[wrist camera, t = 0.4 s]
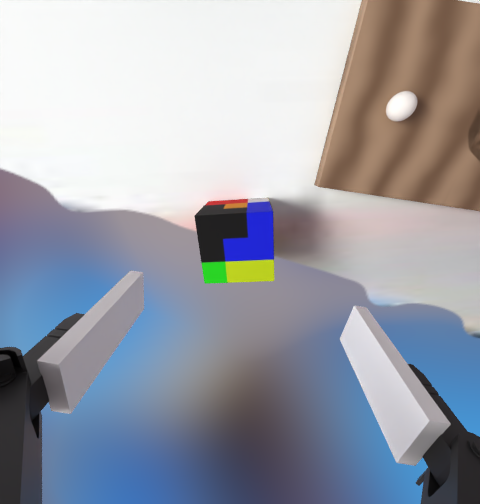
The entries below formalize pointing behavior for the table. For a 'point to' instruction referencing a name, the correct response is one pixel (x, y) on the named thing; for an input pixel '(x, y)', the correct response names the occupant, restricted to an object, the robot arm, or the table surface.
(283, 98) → the table surface
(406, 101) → the ball
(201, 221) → the puzzle toy
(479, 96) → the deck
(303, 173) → the table surface
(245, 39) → the table surface
